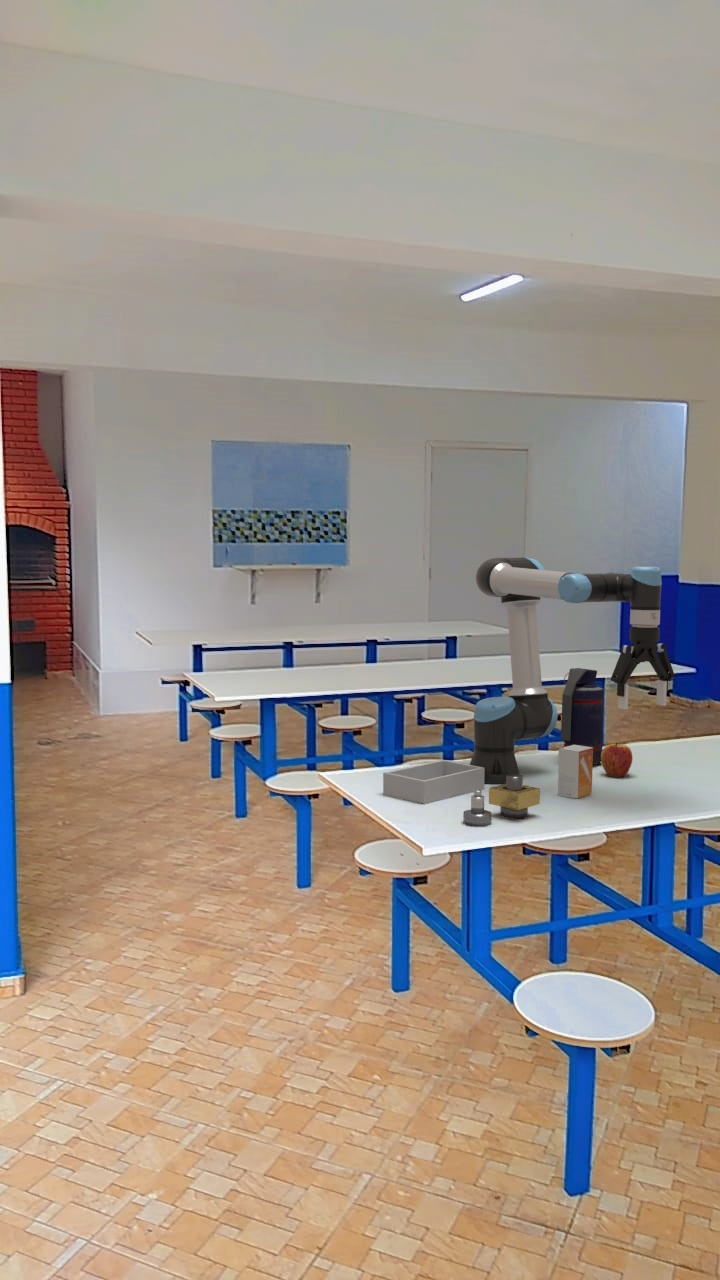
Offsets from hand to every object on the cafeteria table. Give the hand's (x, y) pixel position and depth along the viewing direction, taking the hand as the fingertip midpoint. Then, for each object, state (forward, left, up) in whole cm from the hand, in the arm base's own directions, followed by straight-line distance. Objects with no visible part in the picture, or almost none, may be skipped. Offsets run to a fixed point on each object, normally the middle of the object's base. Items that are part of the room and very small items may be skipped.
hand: (642, 707), depth 263 cm
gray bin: (-46, -30, -26) cm, 60 cm away
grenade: (-39, +31, -26) cm, 56 cm away
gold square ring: (-15, -35, -23) cm, 44 cm away
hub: (-17, -47, -26) cm, 56 cm away
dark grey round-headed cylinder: (-15, -35, -26) cm, 46 cm away
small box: (-17, -5, -26) cm, 31 cm away
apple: (-22, +24, -26) cm, 42 cm away
